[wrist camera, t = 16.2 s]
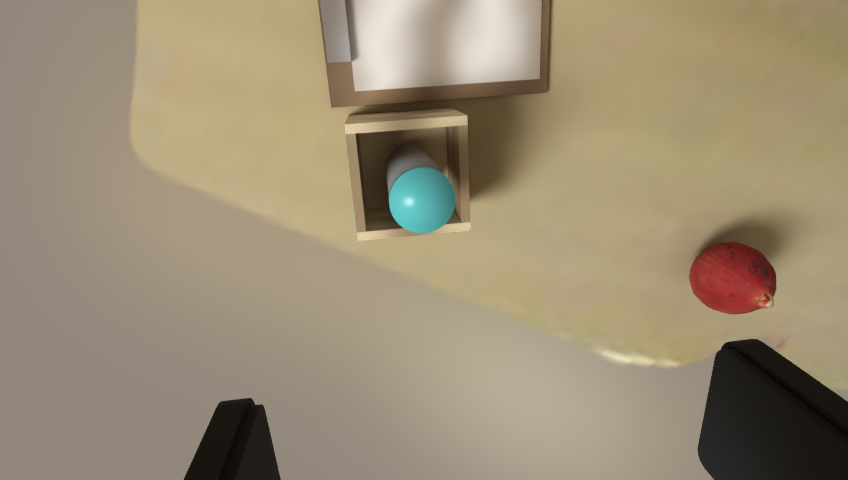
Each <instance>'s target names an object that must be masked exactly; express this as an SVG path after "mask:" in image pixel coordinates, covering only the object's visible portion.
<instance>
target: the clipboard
mask: <svg viewBox="0 0 848 480" xmlns="http://www.w3.org/2000/svg"><path fill="white" fill-rule="evenodd" d="M318 5H319V13H320V21H321V28H322V36H323V44H324V52H325V60H326V68H327V76H328V84H329V92H330V100H331V108H332V107H346V106H361V105H375V104H389V103H403V102H418V101H432V100H446V99H460V98H475V97H489V96H503V95H517V94H531V93H546V92H547V67H548V36H549V5H550V0H318Z"/></svg>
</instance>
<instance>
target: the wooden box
mask: <svg viewBox="0 0 848 480" xmlns="http://www.w3.org/2000/svg"><path fill="white" fill-rule="evenodd" d="M344 125H345V134H346V142H347V151H348V159H349V168H350V176H351V185H352V193H353V202H354V210H355V219H356V227H357V236H358V241H362V240H373V239H383V238H394V237H405V236H416V235H426V234H437V233H448V232H459V231H470V197H469V159H468V120H467V115H466V114H464V113H462V112H460V111H458V110H455V109H453V108H441V109H427V110H413V111H399V112H385V113H371V114H358V115H349V116H348V118H347V120H346V122H345V124H344ZM403 144H417V145H420V146H422V147H423V148H425V149H426V150H427V151H428V152H429V153H430V155H431V156H432V158H433V159H434V161H435V162H436V164H437V165H438V167H439V168H440V170H441V171H442V173H443V174H444V175H445V176H446V177H447V179H448V180H449V181H450V183H451V184H452V186H453V189H454V192H455V197H456V203H455V208H454V212H453V214H452V216H451V217H450V219H449V220H448V221H447V222H446V223H445V224H444V225H443V226H442V227H441V228H439V229H437V230H435V231H432V232H428V233H415V232H411V231H408V230H406V229H404V228H403V227H401V226H400V225H399V224H398V223H397V222H396V221H395V219H394V218H393V216H392V213H391V211H390V206H389V192H388V185H387V177H386V169H385V166H386V161H387V158H388V156H389V155H390V153H391V152H392V151H393V150H394V149H395V148H397V147H398V146H400V145H403Z"/></svg>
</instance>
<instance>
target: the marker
mask: <svg viewBox="0 0 848 480" xmlns="http://www.w3.org/2000/svg"><path fill="white" fill-rule="evenodd" d="M385 169H386V177H387V185H388V192H389V206H390V211H391V213H392V216H393V218H394V219H395V221H396V222H397V223H398V224H399V225H400V226H401V227H403V228H404V229H406V230H408V231H411V232H415V233H428V232H432V231H435V230H437V229H439V228H441V227H442V226H443V225H444V224H445V223H446V222H447V221H448V220H449V219H450V217H451V216H452V214H453V212H454V208H455V203H456V197H455V192H454V189H453V186H452V184H451V183H450V181H449V180H448V179H447V177H446V176H445V175H444V174H443V173H442V171H441V170H440V168H439V167H438V165H437V164H436V162H435V161H434V159H433V158H432V156H431V155H430V153H429V152H428V151H427V150H426V149H425V148H423V147H422V146H420V145H417V144H403V145H400V146H398V147H397V148H395V149H394V150H393V151H392V152H391V153H390V155H389V156H388V158H387V161H386V166H385Z"/></svg>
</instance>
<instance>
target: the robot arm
mask: <svg viewBox="0 0 848 480" xmlns="http://www.w3.org/2000/svg"><path fill="white" fill-rule="evenodd" d="M698 456H699V458H700V461H701V463H702V465H703V466H704V468H705V469H706V470H707V472H708V473H709V474H710V475H711V476H712V478H713V479H714V480H848V402H847V401H846V400H844V399H843V398H842V397H840V396H839V395H837V394H836V393H834V392H833V391H832V390H830V389H829V388H827V387H826V386H824V385H823V384H822V383H820V382H819V381H817V380H816V379H814V378H813V377H812V376H810V375H809V374H807V373H806V372H805V371H803V370H802V369H800V368H799V367H797V366H796V365H795V364H793V363H792V362H790V361H789V360H787V359H786V358H785V357H783V356H782V355H780V354H779V353H777V352H776V351H775V350H773V349H772V348H770V347H769V346H767V345H766V344H765V343H763V342H761V341H759V340H757V339H748V340H740V341H731V342H727V343H725V344H724V345H723V346H722V348H721V350H720V351H718V352H717V353H716V356H715V361H714V367H713V372H712V376H711V382H710V387H709V392H708V397H707V403H706V408H705V413H704V419H703V423H702V429H701V434H700V439H699V444H698ZM184 480H281V479H280V475H279V471H278V466H277V462H276V457H275V453H274V448H273V444H272V439H271V435H270V431H269V426H268V422H267V417H266V413H265V409H264V406H263V405H255V403H254V401H253V400H252V399H251V398H246V399H237V400H229V401H222V402H220V403H219V404H218V406H217V408H216V410H215V412H214V414H213V416H212V419H211V421H210V423H209V425H208V427H207V430H206V432H205V434H204V436H203V438H202V441H201V443H200V445H199V447H198V449H197V452H196V454H195V456H194V458H193V460H192V463H191V465H190V467H189V469H188V471H187V474H186V476H185V478H184Z"/></svg>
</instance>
